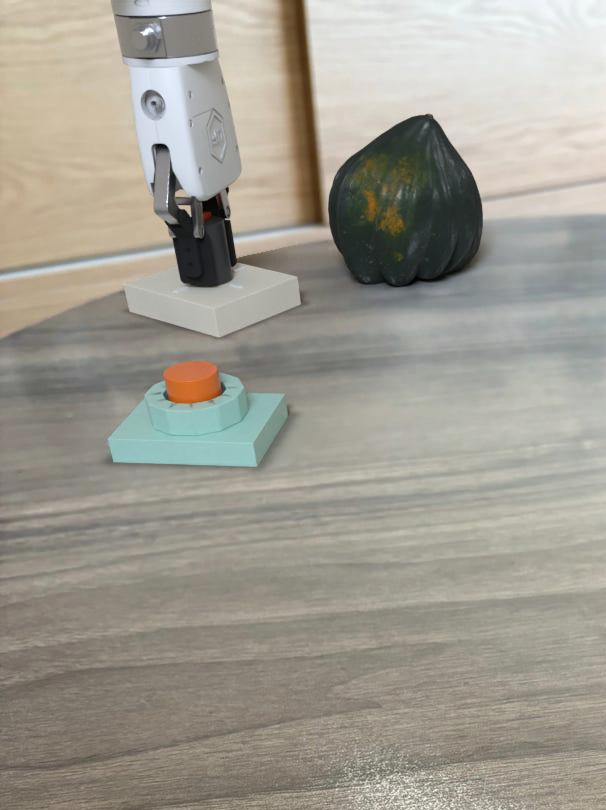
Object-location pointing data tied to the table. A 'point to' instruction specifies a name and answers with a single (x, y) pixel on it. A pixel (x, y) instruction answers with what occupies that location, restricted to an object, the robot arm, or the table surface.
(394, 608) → the table surface
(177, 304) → the grey base plate
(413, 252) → the squash
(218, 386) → the power button
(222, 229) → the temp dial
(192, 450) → the switch block
